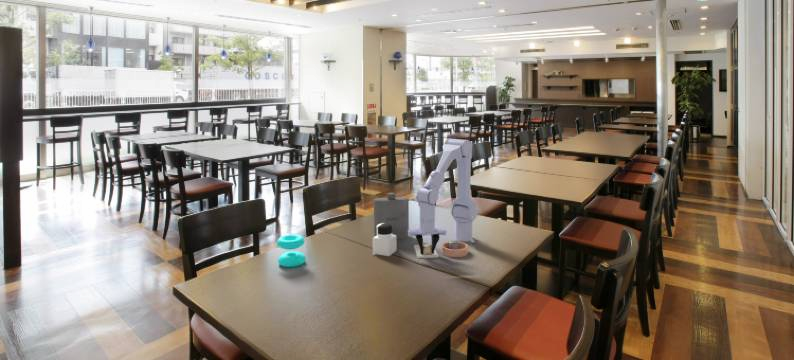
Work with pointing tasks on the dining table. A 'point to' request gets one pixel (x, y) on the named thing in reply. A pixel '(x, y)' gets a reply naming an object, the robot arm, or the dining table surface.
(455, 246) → the grey rounded short piece
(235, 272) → the dining table surface
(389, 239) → the medicine bottle
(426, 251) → the sandstone pebble
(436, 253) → the parts tray
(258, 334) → the dining table surface
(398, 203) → the flask
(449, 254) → the terracotta bowl
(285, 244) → the donuts
